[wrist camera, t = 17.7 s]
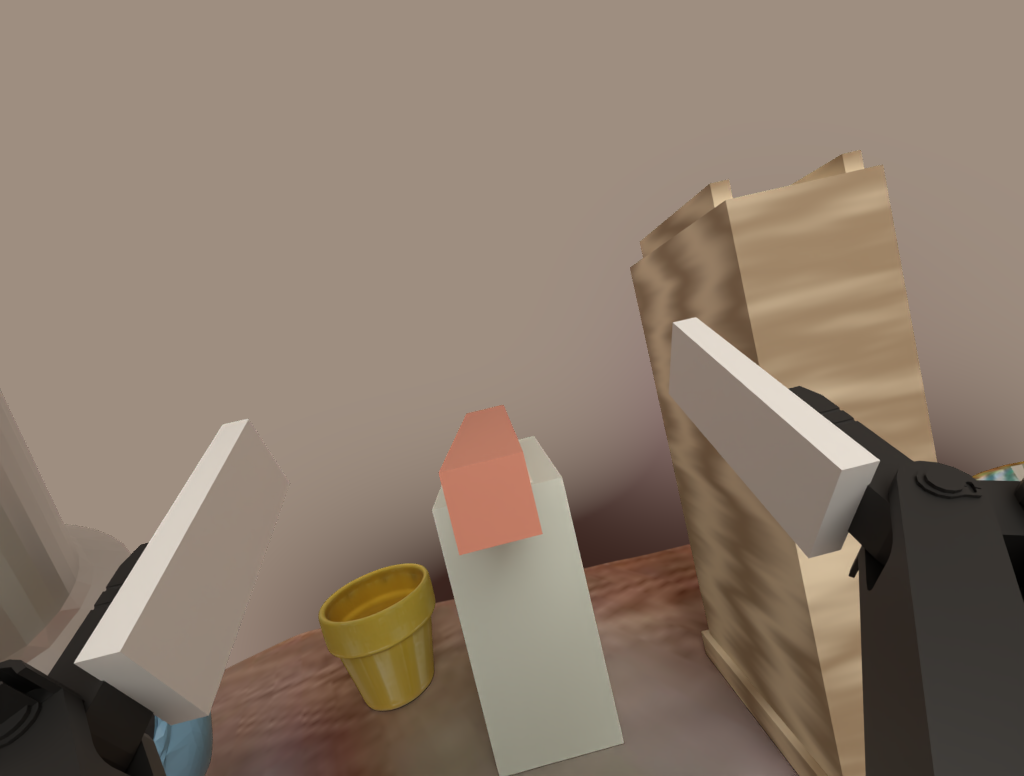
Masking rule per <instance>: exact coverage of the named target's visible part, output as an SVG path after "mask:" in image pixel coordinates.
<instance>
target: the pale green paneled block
mask: <svg viewBox="0 0 1024 776" xmlns="http://www.w3.org/2000/svg"><path fill="white" fill-rule="evenodd" d="M518 441H519V443H520V446H521V448H522V450H523V454H524V458H525V462H526V466H527V470H528V475H529V479H530V483H531V487H532V491H533V496H534V500H535V504H536V508H537V512H538V517H539V521H540V525H541V529H542V533H543V534H541V535H537V536H533V537H529V538H525V539H522V540H518V541H514V542H510V543H506V544H502V545H498V546H494V547H490V548H486V549H482V550H478V551H475V552H471V553H467V554H463V555H459V552H458V548H457V544H456V540H455V536H454V532H453V528H452V524H451V520H450V516H449V512H448V508H447V504H446V500H445V496H444V492H443V488H442V486H441V488H440V491H439V493H438V496H437V498H436V501H435V503H434V506H433V509H432V512H433V516H434V520H435V524H436V528H437V532H438V535H439V540H440V543H441V548H442V552H443V555H444V559H445V563H446V567H447V571H448V575H449V579H450V583H451V587H452V591H453V595H454V599H455V603H456V607H457V611H458V615H459V619H460V623H461V627H462V631H463V635H464V639H465V643H466V647H467V651H468V654H469V658H470V662H471V666H472V670H473V674H474V678H475V682H476V686H477V690H478V694H479V698H480V702H481V706H482V710H483V714H484V718H485V722H486V726H487V730H488V734H489V738H490V742H491V746H492V750H493V754H494V757H495V761H496V765H497V769H498V773H499V776H509V775H512V774H516V773H519V772H523V771H526V770H530V769H534V768H537V767H541V766H544V765H548V764H552V763H555V762H559V761H562V760H566V759H569V758H573V757H577V756H580V755H584V754H587V753H591V752H594V751H598V750H602V749H605V748H609V747H612V746H616V745H620V744H623V743H624V741H623V736H622V732H621V728H620V723H619V719H618V715H617V711H616V706H615V702H614V698H613V693H612V689H611V685H610V681H609V676H608V672H607V668H606V664H605V659H604V655H603V651H602V646H601V642H600V638H599V634H598V629H597V625H596V621H595V616H594V612H593V608H592V604H591V599H590V595H589V591H588V586H587V582H586V578H585V574H584V569H583V565H582V561H581V557H580V552H579V548H578V544H577V539H576V535H575V531H574V527H573V522H572V518H571V514H570V509H569V505H568V501H567V496H566V492H565V488H564V484H563V479H562V476H561V475H560V474H559V472H558V471H557V469H556V468H555V466H554V465H553V463H552V462H551V460H550V459H549V457H548V456H547V454H546V453H545V452H544V450H543V448H542V447H541V446H540V445H539V443H538V441H537V440H536V438H535V437H534V436H532V437H528V438H524V439H520V440H518Z"/></svg>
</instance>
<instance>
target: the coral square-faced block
mask: <svg viewBox="0 0 1024 776" xmlns="http://www.w3.org/2000/svg"><path fill="white" fill-rule="evenodd" d="M439 476H440V480H441V484H442V488H443V492H444V496H445V500H446V504H447V508H448V512H449V516H450V520H451V524H452V528H453V532H454V536H455V540H456V544H457V548H458V552H459V555H463V554H467V553H471V552H475V551H478V550H482V549H486V548H490V547H494V546H498V545H502V544H506V543H510V542H514V541H518V540H522V539H525V538H529V537H533V536H537V535H541V534H543V533H542V529H541V525H540V521H539V517H538V512H537V508H536V504H535V500H534V496H533V491H532V487H531V483H530V479H529V475H528V470H527V466H526V462H525V458H524V454H523V450H522V448H521V446H520V443H519V441H518V438H517V436H516V434H515V431H514V429H513V427H512V424H511V422H510V419H509V417H508V415H507V412H506V410H505V407H504V405H500V406H496V407H492V408H488V409H484V410H479V411H475V412H471V413H467V414H466V416H465V418H464V420H463V422H462V425H461V426H460V428H459V431H458V433H457V435H456V437H455V439H454V441H453V443H452V445H451V448H450V450H449V452H448V454H447V456H446V458H445V460H444V462H443V465H442V467H441V469H440V471H439Z"/></svg>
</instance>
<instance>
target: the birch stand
mask: <svg viewBox="0 0 1024 776" xmlns="http://www.w3.org/2000/svg"><path fill="white" fill-rule="evenodd" d="M640 245H641V249H642V254H643V259H641V260H640V261H639V262H638V263H636V264H634V265H633V266H632V267H630V270H631V274H632V279H633V284H634V288H635V293H636V298H637V302H638V306H639V311H640V316H641V320H642V325H643V329H644V334H645V338H646V343H647V348H648V353H649V357H650V362H651V366H652V371H653V375H654V380H655V385H656V389H657V394H658V399H659V403H660V408H661V412H662V416H663V421H664V426H665V430H666V435H667V440H668V444H669V449H670V453H671V458H672V463H673V467H674V472H675V477H676V481H677V486H678V490H679V495H680V499H681V504H682V508H683V513H684V518H685V522H686V527H687V532H688V536H689V541H690V545H691V550H692V555H693V559H694V564H695V568H696V573H697V577H698V582H699V587H700V591H701V596H702V600H703V605H704V610H705V614H706V619H707V623H708V628H709V630H705V631H701V633H702V638H703V642H704V647H705V652H706V654H707V656H708V657H709V658H710V660H711V661H712V662H713V664H714V665H715V666H716V667H717V669H718V670H719V671H720V673H721V674H722V675H723V677H724V678H725V679H726V681H727V682H728V683H729V684H730V686H731V687H732V688H733V690H734V691H735V692H736V694H737V695H738V696H739V698H740V699H741V700H742V702H743V703H744V704H745V705H746V707H747V708H748V709H749V711H750V712H751V713H752V715H753V716H754V717H755V719H756V720H757V721H758V722H759V724H760V725H761V726H762V728H763V729H764V730H765V732H766V733H767V734H768V736H769V737H770V738H771V740H772V741H773V742H774V743H775V745H776V746H777V747H778V749H779V750H780V751H781V753H782V754H783V755H784V757H785V758H786V759H787V760H788V762H789V763H790V764H791V766H792V767H793V768H794V770H795V771H796V772H797V774H798V775H799V776H866V771H865V742H864V713H863V684H862V655H861V626H860V597H859V570H858V572H857V574H856V576H855V578H852V577H849V576H848V575H849V572H850V569H851V567H852V564H853V562H854V560H855V558H856V556H857V554H858V552H859V550H860V548H861V546H862V545H861V544H860V543H859V542H858V541H857V540H856V539H855V538H854V537H853V536H852V535H851V534H850V533H848V535H847V537H846V540H845V542H844V544H843V546H842V549H841V550H839V551H835V552H831V553H827V554H824V555H820V556H816V557H812V558H808V557H807V556H806V555H805V554H804V552H803V551H802V550H801V549H800V548H799V547H798V545H797V544H796V543H795V542H794V541H793V539H792V538H791V537H790V536H789V535H788V534H787V532H786V531H785V530H784V529H783V528H782V527H781V525H780V524H779V523H778V522H777V521H776V519H775V518H774V517H773V516H772V515H771V514H770V512H769V511H768V510H767V509H766V508H765V507H764V505H763V504H762V503H761V502H760V501H759V499H758V498H757V497H756V496H755V495H754V494H753V492H752V491H751V490H750V489H749V488H748V487H747V485H746V484H745V483H744V482H743V481H742V479H741V478H740V477H739V476H738V475H737V474H736V472H735V471H734V470H733V469H732V468H731V467H730V465H729V464H728V463H727V462H726V461H725V460H724V458H723V457H722V456H721V455H720V454H719V452H718V451H717V450H716V449H715V448H714V447H713V445H712V444H711V443H710V442H709V441H708V440H707V438H706V437H705V436H704V435H703V434H702V432H701V431H700V430H699V429H698V428H697V427H696V425H695V424H694V423H693V422H692V421H691V420H690V418H689V417H688V416H687V415H686V414H685V412H684V411H683V410H682V409H681V408H680V407H679V405H678V404H677V403H676V402H675V401H674V400H673V398H672V397H671V396H670V395H669V379H670V361H671V343H672V325H673V322H677V321H681V320H686V319H690V318H695V317H696V318H698V319H699V320H700V321H702V322H703V323H704V324H705V325H707V326H708V327H709V328H711V329H712V330H713V331H714V332H716V333H717V334H718V335H720V336H721V337H722V338H723V339H725V340H726V341H727V342H729V343H730V344H731V345H732V346H734V347H735V348H736V349H738V350H739V351H740V352H741V353H743V354H744V355H745V356H747V357H748V358H749V359H750V360H752V361H753V362H754V363H756V364H757V365H758V366H759V367H761V368H762V369H763V370H765V371H766V372H767V373H768V374H770V375H771V376H772V377H773V378H775V379H776V380H777V381H779V382H780V383H781V384H782V385H784V386H785V387H786V388H793V387H797V386H802V387H804V388H806V389H809V390H811V391H814V392H816V393H819V394H821V395H823V396H824V397H826V398H827V399H829V400H830V401H831V402H833V403H834V404H835V405H837V406H838V407H840V410H844V411H845V412H846V413H848V414H849V415H851V416H852V417H853V418H854V420H855V421H859V422H860V423H862V424H863V425H864V426H866V427H867V428H868V429H870V430H871V431H873V432H874V433H875V434H877V435H878V436H879V437H881V438H882V439H884V440H885V441H886V442H888V443H889V444H890V445H892V446H893V447H895V448H896V449H897V450H899V451H900V452H901V453H903V454H904V455H906V456H907V457H908V458H910V459H911V460H913V461H929V462H937V459H936V453H935V448H934V443H933V437H932V431H931V426H930V420H929V415H928V409H927V404H926V399H925V393H924V387H923V382H922V376H921V371H920V366H919V361H918V355H917V349H916V343H915V338H914V332H913V327H912V321H911V316H910V310H909V305H908V299H907V294H906V288H905V283H904V277H903V272H902V266H901V261H900V256H899V250H898V244H897V239H896V233H895V228H894V222H893V217H892V211H891V206H890V201H889V195H888V189H887V184H886V178H885V174H884V168H883V165H879V166H874V167H870V168H866V169H864V165H863V159H862V154H861V150H858V151H854V152H850V153H845V154H842V155H840V156H838V157H836V158H835V159H833V160H832V161H830V162H828V163H827V164H825V165H823V166H822V167H820V168H818V169H817V170H815V171H813V172H812V173H810V174H808V175H807V176H805V177H803V178H802V179H800V180H798V181H797V182H795V183H793V184H792V185H790V186H786V187H781V188H777V189H772V190H768V191H763V192H759V193H755V194H750V195H746V196H741V197H737V198H732V192H731V187H730V183H729V180H724V181H720V182H715V183H711V184H709V185H708V186H706V187H705V188H704V189H703V190H702V191H701V192H699V193H698V194H697V195H696V196H694V197H693V198H692V199H691V200H690V201H689V202H687V203H686V204H685V205H684V206H682V207H681V208H680V209H679V210H678V211H676V212H675V213H674V214H673V215H672V216H670V217H669V218H668V219H667V220H665V221H664V222H663V223H662V224H661V225H659V226H658V227H657V228H656V229H655V230H653V231H652V232H651V233H650V234H649V235H647V236H646V237H645V238H644V239H643V240H642V241H640Z"/></svg>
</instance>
